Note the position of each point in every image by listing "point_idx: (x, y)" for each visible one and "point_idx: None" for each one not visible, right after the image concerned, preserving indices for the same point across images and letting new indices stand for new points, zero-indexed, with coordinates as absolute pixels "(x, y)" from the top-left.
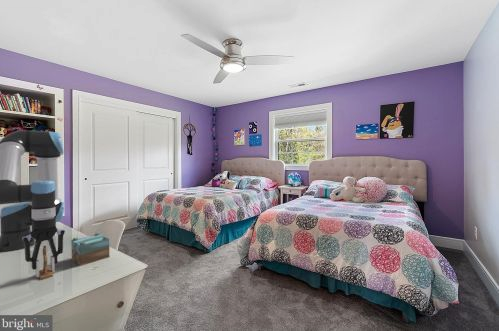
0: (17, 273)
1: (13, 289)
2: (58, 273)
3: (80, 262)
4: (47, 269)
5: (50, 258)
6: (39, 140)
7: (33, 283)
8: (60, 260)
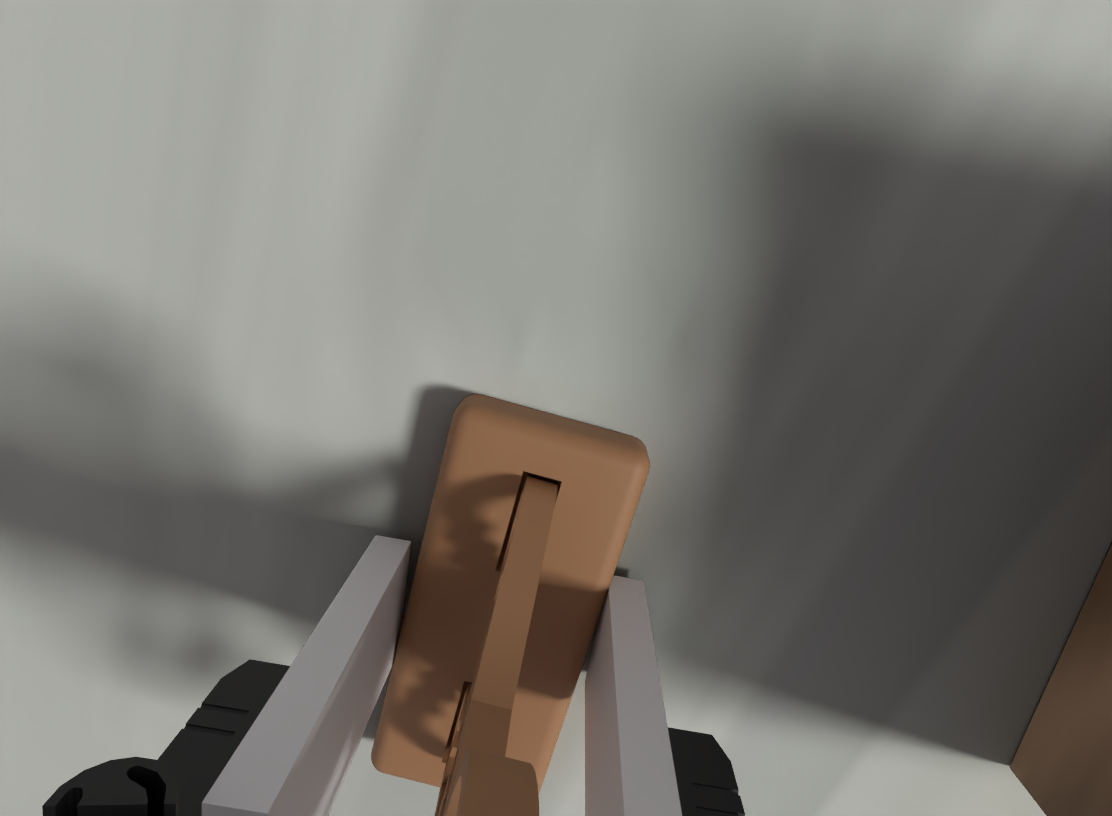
0: (199, 4)
1: (55, 720)
2: None
3: (1054, 813)
4: (578, 541)
5: (620, 811)
6: None
7: None
8: (1088, 55)
